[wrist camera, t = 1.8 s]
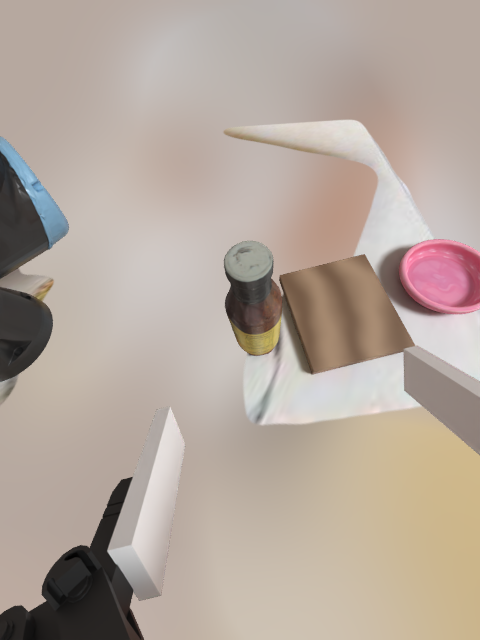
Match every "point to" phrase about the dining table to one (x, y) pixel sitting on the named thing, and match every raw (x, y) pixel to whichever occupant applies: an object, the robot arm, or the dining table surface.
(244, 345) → the sauce bottle
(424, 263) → the saucer
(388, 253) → the dining table surface
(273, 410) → the dining table surface
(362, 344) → the walnut serving board
